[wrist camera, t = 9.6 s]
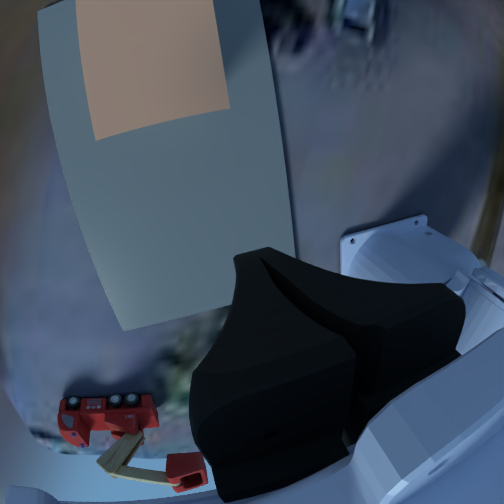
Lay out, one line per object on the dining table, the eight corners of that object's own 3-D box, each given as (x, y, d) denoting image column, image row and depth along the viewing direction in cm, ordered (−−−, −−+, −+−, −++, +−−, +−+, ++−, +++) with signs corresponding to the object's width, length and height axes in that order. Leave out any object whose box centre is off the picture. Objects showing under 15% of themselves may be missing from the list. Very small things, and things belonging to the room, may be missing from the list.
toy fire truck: (56, 394, 24) (43, 477, 15) (189, 385, 27) (206, 474, 19) (69, 414, 25) (61, 493, 17) (193, 406, 28) (211, 489, 20)
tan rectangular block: (188, -34, 10) (199, -80, 6) (211, 110, 13) (230, 108, 9) (95, -14, 9) (74, -54, 5) (116, 133, 13) (95, 140, 9)
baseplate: (249, -33, 14) (252, -36, 13) (295, 281, 25) (298, 285, 24) (40, 13, 12) (37, 11, 11) (124, 326, 23) (123, 331, 22)
